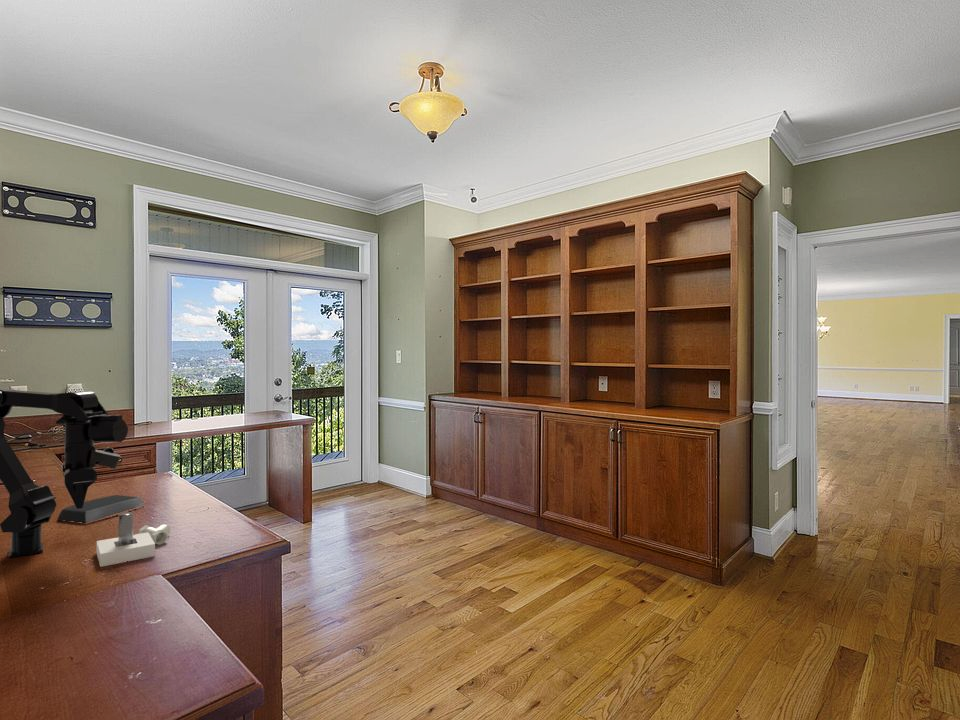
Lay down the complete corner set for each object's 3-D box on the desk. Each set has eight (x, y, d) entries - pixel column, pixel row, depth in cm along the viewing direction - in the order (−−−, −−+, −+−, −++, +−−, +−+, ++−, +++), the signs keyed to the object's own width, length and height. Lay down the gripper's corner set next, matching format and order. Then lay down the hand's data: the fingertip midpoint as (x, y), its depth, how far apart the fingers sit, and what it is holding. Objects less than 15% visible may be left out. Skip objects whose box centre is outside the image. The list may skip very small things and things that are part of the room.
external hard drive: (146, 508, 172) (146, 496, 172) (87, 526, 154) (87, 512, 154) (116, 504, 176) (116, 492, 176) (54, 521, 158) (54, 508, 158)
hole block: (96, 553, 132) (96, 541, 132) (148, 543, 139) (148, 532, 139) (100, 566, 123) (100, 554, 123) (155, 556, 130) (155, 543, 130)
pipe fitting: (163, 535, 147) (137, 540, 141) (165, 521, 147) (139, 525, 142) (179, 541, 143) (153, 546, 137) (181, 526, 143) (155, 531, 137)
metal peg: (117, 554, 131) (117, 513, 131) (132, 551, 133) (132, 511, 133) (118, 557, 129) (119, 516, 129) (133, 555, 131) (133, 514, 131)
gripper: (122, 443, 130) (121, 507, 130) (114, 434, 145) (113, 491, 145) (64, 448, 123) (64, 515, 123) (62, 438, 138) (61, 498, 138)
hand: (78, 504), depth 132 cm, fingers open, 9 cm apart
